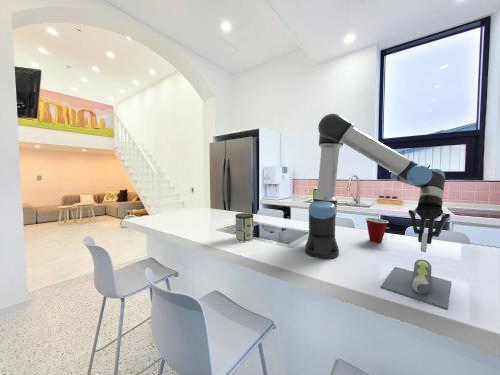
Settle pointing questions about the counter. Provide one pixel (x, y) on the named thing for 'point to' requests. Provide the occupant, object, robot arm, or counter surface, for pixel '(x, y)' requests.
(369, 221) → the plastic cup
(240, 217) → the coffee can
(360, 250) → the counter surface
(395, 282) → the slate mat
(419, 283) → the patterned grey cylinder
